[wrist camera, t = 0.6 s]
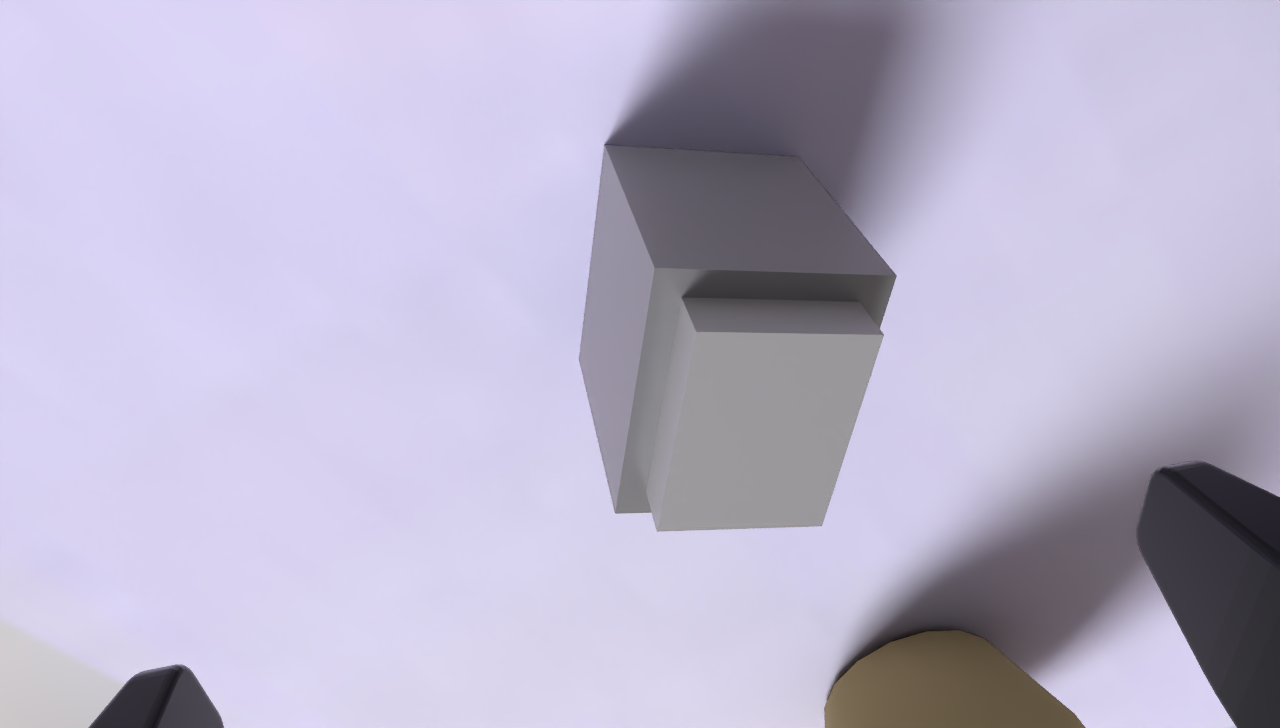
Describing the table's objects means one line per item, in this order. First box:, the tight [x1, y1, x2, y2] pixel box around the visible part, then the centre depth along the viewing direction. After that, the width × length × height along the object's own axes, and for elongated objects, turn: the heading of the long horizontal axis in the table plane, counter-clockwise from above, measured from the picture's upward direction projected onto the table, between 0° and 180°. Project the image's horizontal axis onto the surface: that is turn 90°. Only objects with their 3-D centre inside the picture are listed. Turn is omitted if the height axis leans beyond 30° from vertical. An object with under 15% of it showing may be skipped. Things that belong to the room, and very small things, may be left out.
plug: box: [579, 144, 896, 531], centre depth 18 cm, size 4×5×6 cm
